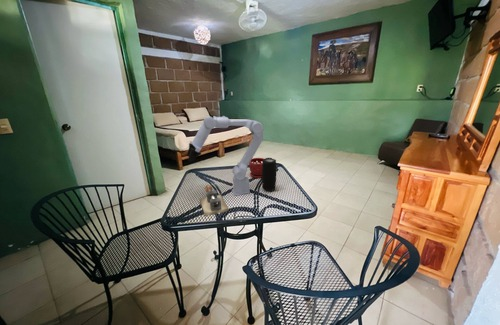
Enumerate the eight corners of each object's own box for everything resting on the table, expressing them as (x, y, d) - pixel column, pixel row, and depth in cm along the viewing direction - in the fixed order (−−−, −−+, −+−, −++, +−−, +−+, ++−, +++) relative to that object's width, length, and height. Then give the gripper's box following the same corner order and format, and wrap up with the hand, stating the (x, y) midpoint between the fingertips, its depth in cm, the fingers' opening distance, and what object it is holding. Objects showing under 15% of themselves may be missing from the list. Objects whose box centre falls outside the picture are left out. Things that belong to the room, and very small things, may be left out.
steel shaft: (212, 190, 119) (211, 184, 118) (219, 205, 103) (218, 198, 102) (205, 191, 118) (204, 185, 117) (211, 206, 102) (210, 199, 101)
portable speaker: (262, 193, 121) (262, 162, 115) (261, 186, 130) (261, 157, 124) (276, 192, 121) (277, 161, 115) (274, 186, 130) (275, 157, 124)
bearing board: (221, 197, 117) (220, 186, 115) (228, 210, 103) (228, 199, 101) (200, 201, 113) (198, 190, 111) (205, 216, 99) (203, 204, 97)
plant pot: (245, 175, 148) (245, 160, 144) (258, 171, 156) (258, 156, 152) (258, 181, 138) (258, 164, 135) (271, 175, 147) (271, 160, 143)
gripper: (192, 130, 112) (181, 151, 114) (195, 137, 99) (183, 160, 101) (204, 136, 115) (192, 156, 117) (208, 143, 103) (195, 166, 105)
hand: (189, 158), depth 110 cm, fingers open, 7 cm apart
